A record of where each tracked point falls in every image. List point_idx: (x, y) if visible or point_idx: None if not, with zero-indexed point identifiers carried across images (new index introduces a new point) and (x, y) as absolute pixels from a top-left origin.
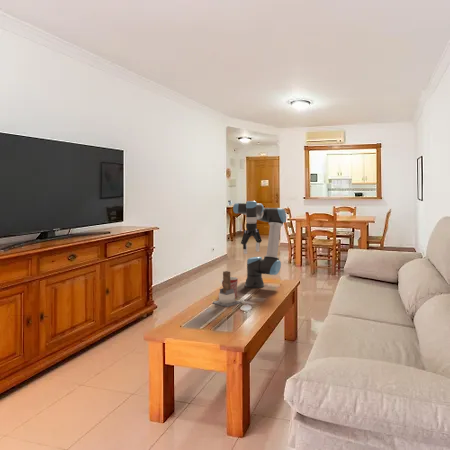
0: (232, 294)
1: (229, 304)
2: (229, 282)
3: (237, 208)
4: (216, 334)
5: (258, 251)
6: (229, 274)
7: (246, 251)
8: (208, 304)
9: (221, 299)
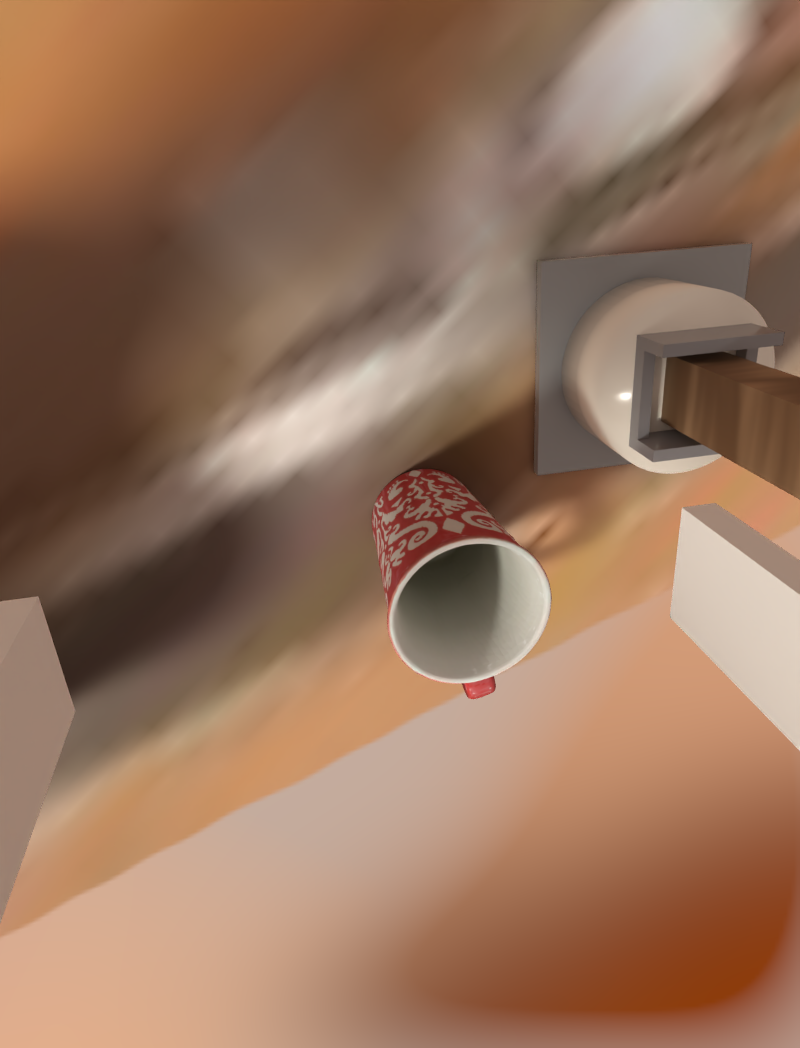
0: (697, 293)
1: (703, 265)
2: (764, 384)
3: None
4: None
5: (40, 609)
6: None
7: (767, 538)
8: None
9: None
